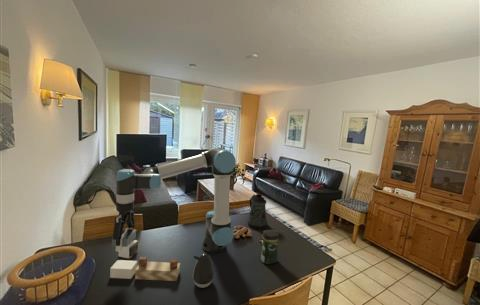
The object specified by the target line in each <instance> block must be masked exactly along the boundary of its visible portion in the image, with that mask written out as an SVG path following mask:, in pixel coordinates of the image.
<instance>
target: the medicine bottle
mask: <svg viewBox="0 0 480 305" xmlns="http://www.w3.org/2000/svg"><path fill="white" fill-rule="evenodd" d="M138 251H139V241H138V240H136V239H134V240H133V241H132V242H131V243H130V244H129V245H128V246H127V247H122V252H118V257H119V258H120V257H121V258H123V259H130V258H132V257H133V256H134V255H135V254H136V253H138Z"/></svg>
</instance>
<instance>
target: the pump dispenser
mask: <svg viewBox="0 0 480 305" xmlns="http://www.w3.org/2000/svg"><path fill="white" fill-rule="evenodd" d="M193 259H195V260H196V262H195V265H194V267H193V272H192V280H193V283H194V284H195V285H196V287H197V288H203V289H204V288H207V287H208V286H210V285H211V283H212V282H213V280H214V277H215V270H214V264H213V260H212V258H211V256H210V255H209V254H208V253H205V252H204V253H201V255H200V256H197V255H193Z"/></svg>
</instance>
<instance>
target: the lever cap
mask: <svg viewBox="0 0 480 305" xmlns="http://www.w3.org/2000/svg"><path fill="white" fill-rule="evenodd" d="M136 237H137V229H135V228H134V229H127V228H124V229H123V233H122V237H121V238H123V240H122V247H127V246H128V245H129V244H130V243H131V242H132V241H133V240H136ZM111 247H116V240H113V236H112V237H111Z"/></svg>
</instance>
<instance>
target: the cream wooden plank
mask: <svg viewBox="0 0 480 305" xmlns="http://www.w3.org/2000/svg"><path fill="white" fill-rule="evenodd" d="M180 272H181V263H180V262H178V259H176V258H173V259H171V260H169V262H165V261H164V262H161V261H148V256H140V257H139V258H138V264H137V268H136V269H135V274H134V277H135V278H134V280H148V281H150V280H151V281H166V282H167V281H169V282H177V281H178V278H179V276H180Z"/></svg>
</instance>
